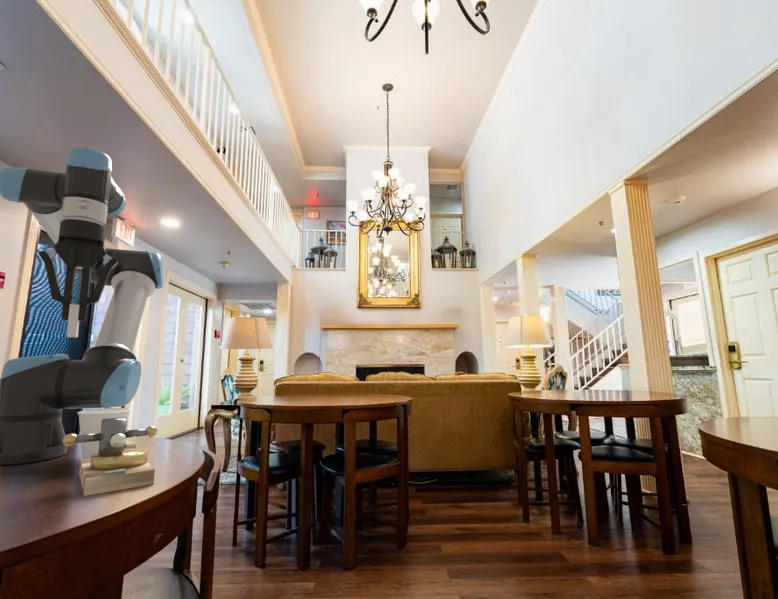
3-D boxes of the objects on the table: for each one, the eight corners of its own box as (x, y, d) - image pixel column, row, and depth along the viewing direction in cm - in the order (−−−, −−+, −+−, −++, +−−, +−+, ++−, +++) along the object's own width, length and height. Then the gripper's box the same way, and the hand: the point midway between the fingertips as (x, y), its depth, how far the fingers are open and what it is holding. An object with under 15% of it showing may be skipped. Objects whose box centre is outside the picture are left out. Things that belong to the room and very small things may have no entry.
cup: (98, 469, 82) (104, 413, 84) (59, 466, 84) (65, 412, 86) (137, 457, 92) (141, 408, 93) (101, 455, 94) (106, 407, 95)
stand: (78, 472, 79) (81, 447, 80) (137, 464, 86) (139, 440, 86) (84, 496, 66) (87, 464, 66) (153, 484, 72) (155, 455, 73)
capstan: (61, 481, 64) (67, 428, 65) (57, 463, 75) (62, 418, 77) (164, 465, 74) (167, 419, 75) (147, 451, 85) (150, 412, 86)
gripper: (39, 212, 76) (24, 336, 74) (120, 223, 83) (110, 337, 81) (46, 222, 83) (33, 336, 80) (122, 232, 90) (112, 338, 87)
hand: (72, 337), depth 80 cm, fingers closed
